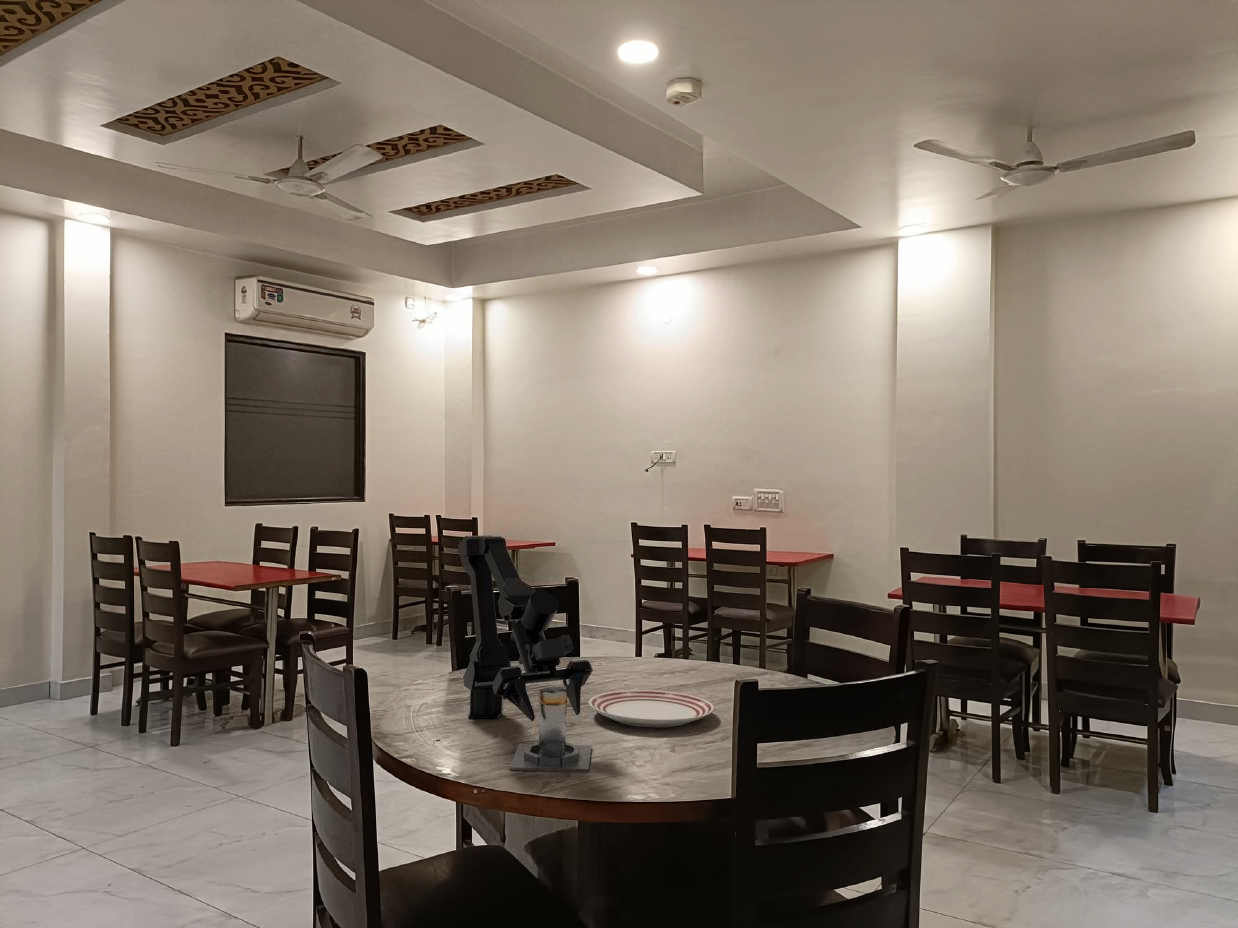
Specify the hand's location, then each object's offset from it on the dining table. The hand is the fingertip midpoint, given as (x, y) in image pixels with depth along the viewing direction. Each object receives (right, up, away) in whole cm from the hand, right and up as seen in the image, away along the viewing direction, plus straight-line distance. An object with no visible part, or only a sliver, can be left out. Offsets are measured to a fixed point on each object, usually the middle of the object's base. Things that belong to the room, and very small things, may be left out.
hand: (556, 716), depth 166 cm
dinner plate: (+19, -9, +32) cm, 38 cm away
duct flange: (-1, -8, +1) cm, 8 cm away
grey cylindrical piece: (-1, -8, +1) cm, 8 cm away
